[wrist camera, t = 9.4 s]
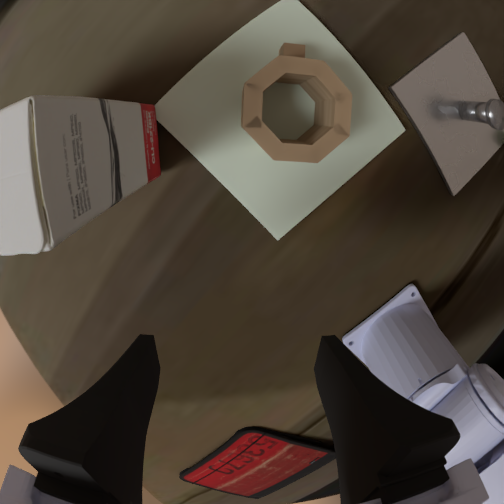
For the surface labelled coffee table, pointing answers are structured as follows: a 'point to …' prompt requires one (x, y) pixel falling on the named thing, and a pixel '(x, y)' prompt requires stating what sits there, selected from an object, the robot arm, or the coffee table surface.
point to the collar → (318, 88)
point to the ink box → (69, 165)
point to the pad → (274, 118)
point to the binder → (258, 463)
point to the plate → (453, 110)
